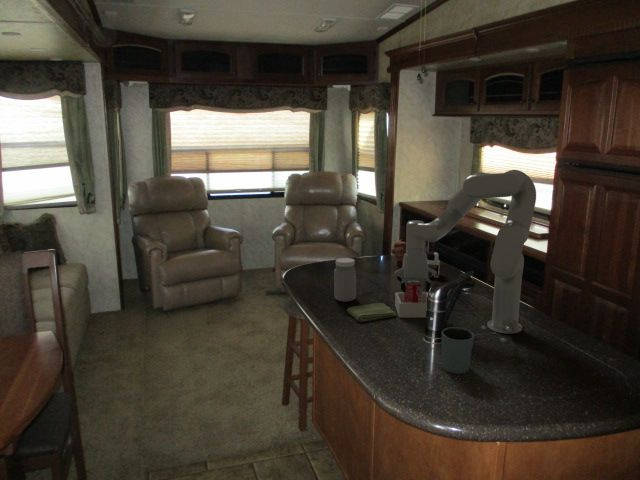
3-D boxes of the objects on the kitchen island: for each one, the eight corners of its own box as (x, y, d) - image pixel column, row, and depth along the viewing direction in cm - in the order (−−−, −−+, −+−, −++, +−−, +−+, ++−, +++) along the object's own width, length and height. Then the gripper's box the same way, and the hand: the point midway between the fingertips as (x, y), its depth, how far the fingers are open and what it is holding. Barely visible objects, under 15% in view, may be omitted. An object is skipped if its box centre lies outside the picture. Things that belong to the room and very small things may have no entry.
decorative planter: (420, 261, 298) (421, 236, 295) (430, 266, 287) (431, 241, 284) (387, 263, 293) (387, 239, 290) (395, 269, 282) (396, 244, 279)
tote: (432, 317, 215) (433, 303, 214) (399, 317, 216) (399, 303, 214) (426, 305, 229) (427, 292, 227) (395, 305, 229) (395, 292, 228)
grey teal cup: (448, 358, 179) (450, 324, 177) (477, 366, 173) (479, 332, 170) (434, 369, 172) (435, 334, 169) (464, 378, 165) (466, 342, 163)
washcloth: (397, 317, 217) (398, 310, 216) (358, 324, 210) (358, 316, 210) (382, 307, 229) (382, 300, 228) (345, 313, 222) (345, 305, 222)
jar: (359, 300, 236) (360, 261, 232) (339, 303, 232) (339, 264, 228) (350, 294, 244) (350, 256, 240) (330, 297, 241) (330, 258, 237)
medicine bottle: (423, 276, 269) (424, 253, 266) (425, 273, 276) (426, 250, 273) (438, 278, 267) (439, 254, 264) (439, 274, 274) (440, 251, 271)
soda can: (420, 306, 225) (421, 279, 222) (421, 312, 218) (422, 284, 215) (403, 305, 226) (404, 278, 223) (404, 311, 219) (404, 284, 216)
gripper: (435, 248, 220) (434, 288, 223) (393, 249, 220) (393, 289, 224) (438, 252, 212) (438, 293, 216) (395, 253, 213) (395, 294, 216)
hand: (415, 291), depth 220 cm, fingers open, 9 cm apart
